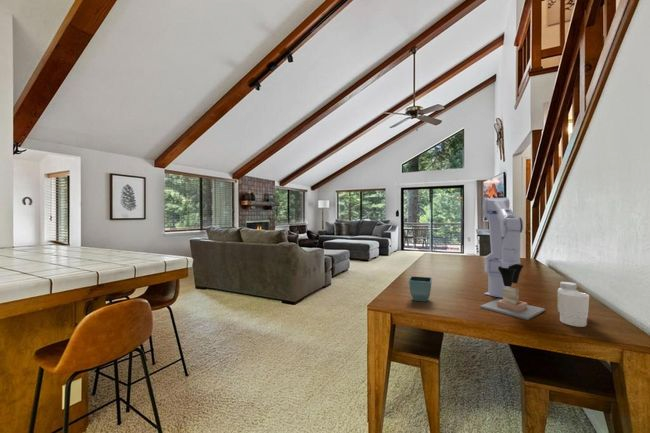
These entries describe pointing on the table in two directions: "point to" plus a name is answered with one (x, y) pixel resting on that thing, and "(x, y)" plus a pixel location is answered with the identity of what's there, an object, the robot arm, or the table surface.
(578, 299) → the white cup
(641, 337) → the table surface
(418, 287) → the flower pot
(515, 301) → the peg
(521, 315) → the holder
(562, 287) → the pill bottle
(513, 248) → the robot arm
